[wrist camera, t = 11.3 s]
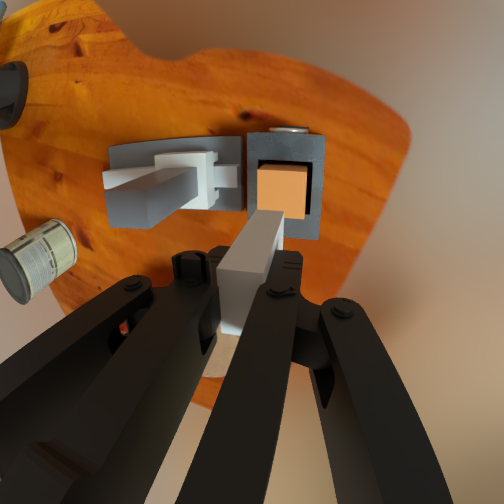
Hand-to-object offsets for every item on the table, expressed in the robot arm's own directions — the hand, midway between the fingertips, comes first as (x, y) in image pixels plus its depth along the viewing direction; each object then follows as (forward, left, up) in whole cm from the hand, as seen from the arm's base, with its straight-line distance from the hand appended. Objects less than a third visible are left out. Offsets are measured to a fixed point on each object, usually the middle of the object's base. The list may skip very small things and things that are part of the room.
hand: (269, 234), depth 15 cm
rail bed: (0, -15, -19) cm, 24 cm away
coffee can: (+12, -42, -19) cm, 48 cm away
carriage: (0, -11, -17) cm, 20 cm away
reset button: (0, 0, -13) cm, 13 cm away
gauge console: (0, 0, -19) cm, 19 cm away
